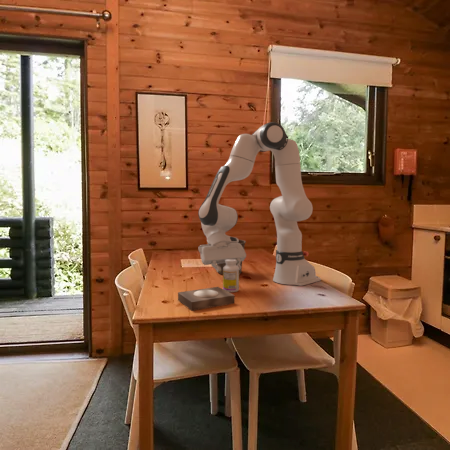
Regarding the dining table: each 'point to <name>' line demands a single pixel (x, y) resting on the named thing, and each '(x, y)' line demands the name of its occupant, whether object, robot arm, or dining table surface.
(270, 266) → the dining table surface
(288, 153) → the robot arm
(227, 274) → the supplement bottle
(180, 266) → the dining table surface
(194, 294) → the walnut board
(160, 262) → the dining table surface
